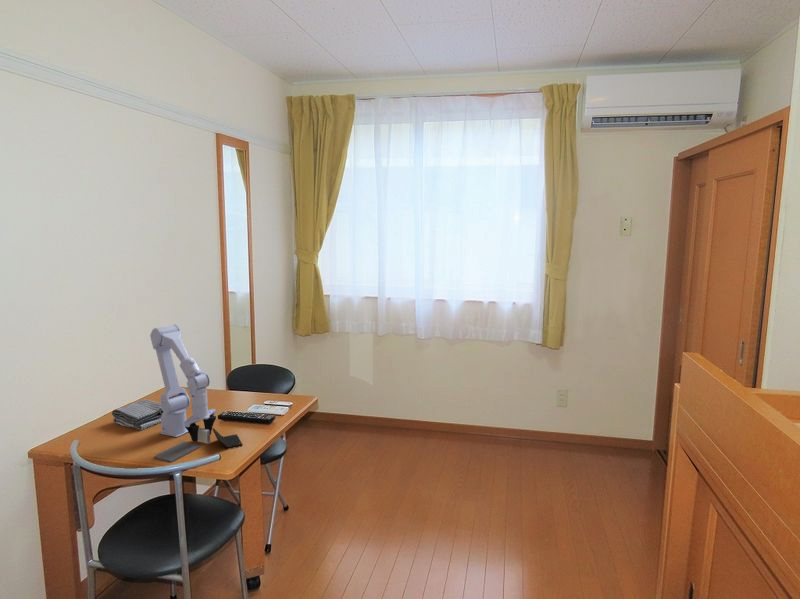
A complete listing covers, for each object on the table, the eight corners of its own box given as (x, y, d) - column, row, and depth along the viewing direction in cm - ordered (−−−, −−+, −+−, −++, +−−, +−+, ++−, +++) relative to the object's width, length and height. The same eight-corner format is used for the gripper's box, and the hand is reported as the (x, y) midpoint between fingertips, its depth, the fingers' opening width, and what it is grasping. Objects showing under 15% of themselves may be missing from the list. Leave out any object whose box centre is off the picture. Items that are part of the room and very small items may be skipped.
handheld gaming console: (247, 440, 195) (229, 424, 191) (234, 456, 192) (215, 439, 188) (237, 435, 204) (219, 419, 200) (224, 449, 201) (206, 434, 197)
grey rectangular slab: (153, 457, 184) (153, 456, 184) (183, 442, 197) (183, 441, 197) (171, 462, 181) (171, 461, 181) (201, 446, 193) (201, 445, 193)
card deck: (193, 440, 199) (192, 428, 198) (196, 439, 201) (195, 427, 200) (207, 443, 196) (206, 431, 196) (210, 442, 198) (209, 429, 197)
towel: (143, 413, 229) (142, 396, 228) (170, 420, 221) (169, 403, 219) (111, 424, 216) (109, 407, 215) (138, 432, 207) (137, 414, 206)
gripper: (193, 412, 188) (195, 446, 190) (221, 400, 201) (222, 432, 203) (179, 409, 191) (181, 443, 193) (207, 397, 204) (209, 429, 206)
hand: (201, 437), depth 198 cm, fingers open, 6 cm apart
